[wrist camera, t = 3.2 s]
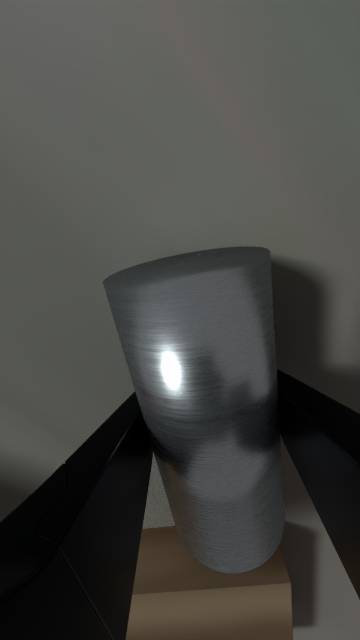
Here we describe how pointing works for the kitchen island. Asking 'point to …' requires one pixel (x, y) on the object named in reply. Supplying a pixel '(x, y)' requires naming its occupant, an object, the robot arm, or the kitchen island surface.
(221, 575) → the slab
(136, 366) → the roller
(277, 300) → the kitchen island surface
